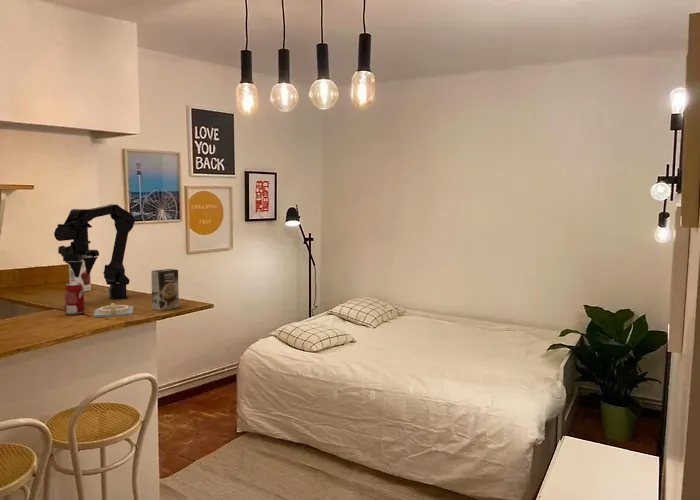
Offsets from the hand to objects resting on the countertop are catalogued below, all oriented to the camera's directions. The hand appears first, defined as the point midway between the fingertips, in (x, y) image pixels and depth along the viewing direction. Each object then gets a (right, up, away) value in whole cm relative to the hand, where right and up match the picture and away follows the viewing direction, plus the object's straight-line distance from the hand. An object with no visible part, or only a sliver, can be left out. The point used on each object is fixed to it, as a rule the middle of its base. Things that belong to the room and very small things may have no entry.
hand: (82, 275), depth 223 cm
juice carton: (-19, -10, +36) cm, 42 cm away
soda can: (+4, -15, -14) cm, 21 cm away
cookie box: (+36, -14, -3) cm, 39 cm away
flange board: (+19, -14, -12) cm, 26 cm away
